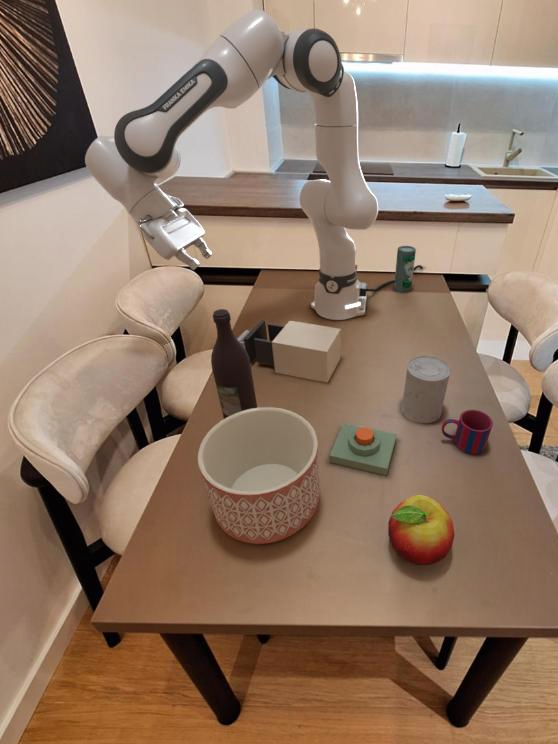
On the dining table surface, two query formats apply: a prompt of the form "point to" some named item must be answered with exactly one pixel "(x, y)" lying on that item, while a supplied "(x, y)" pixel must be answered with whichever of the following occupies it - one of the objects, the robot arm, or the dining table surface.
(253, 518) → the planter
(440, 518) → the fruit
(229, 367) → the wine bottle
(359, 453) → the box
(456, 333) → the dining table surface
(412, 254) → the can
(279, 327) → the drawer
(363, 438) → the button
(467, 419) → the mug
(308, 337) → the cream cardboard box
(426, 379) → the gray concrete cylinder
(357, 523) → the dining table surface
